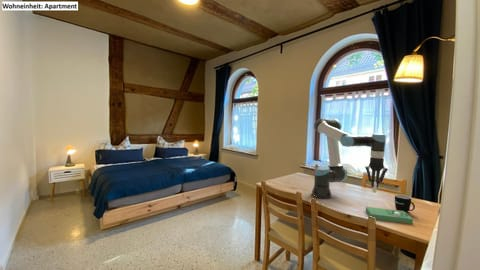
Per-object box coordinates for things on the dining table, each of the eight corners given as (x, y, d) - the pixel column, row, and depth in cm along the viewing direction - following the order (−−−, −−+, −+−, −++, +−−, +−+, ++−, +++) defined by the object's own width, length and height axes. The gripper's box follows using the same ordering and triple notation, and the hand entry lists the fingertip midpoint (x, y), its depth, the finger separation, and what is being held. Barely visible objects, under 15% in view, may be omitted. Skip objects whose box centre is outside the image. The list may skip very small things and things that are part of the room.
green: (370, 218, 134) (371, 214, 133) (365, 211, 145) (365, 206, 145) (412, 223, 127) (412, 219, 127) (403, 215, 138) (404, 211, 138)
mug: (390, 209, 148) (391, 195, 148) (399, 207, 151) (400, 193, 151) (409, 216, 137) (410, 201, 136) (418, 214, 140) (419, 199, 139)
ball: (396, 218, 132) (393, 211, 134) (394, 219, 135) (390, 213, 137) (403, 216, 131) (399, 210, 134) (400, 218, 135) (397, 211, 137)
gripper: (367, 157, 137) (364, 192, 140) (390, 159, 133) (387, 195, 136) (364, 155, 144) (361, 188, 147) (386, 156, 140) (383, 191, 143)
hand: (374, 191), depth 141 cm, fingers closed
